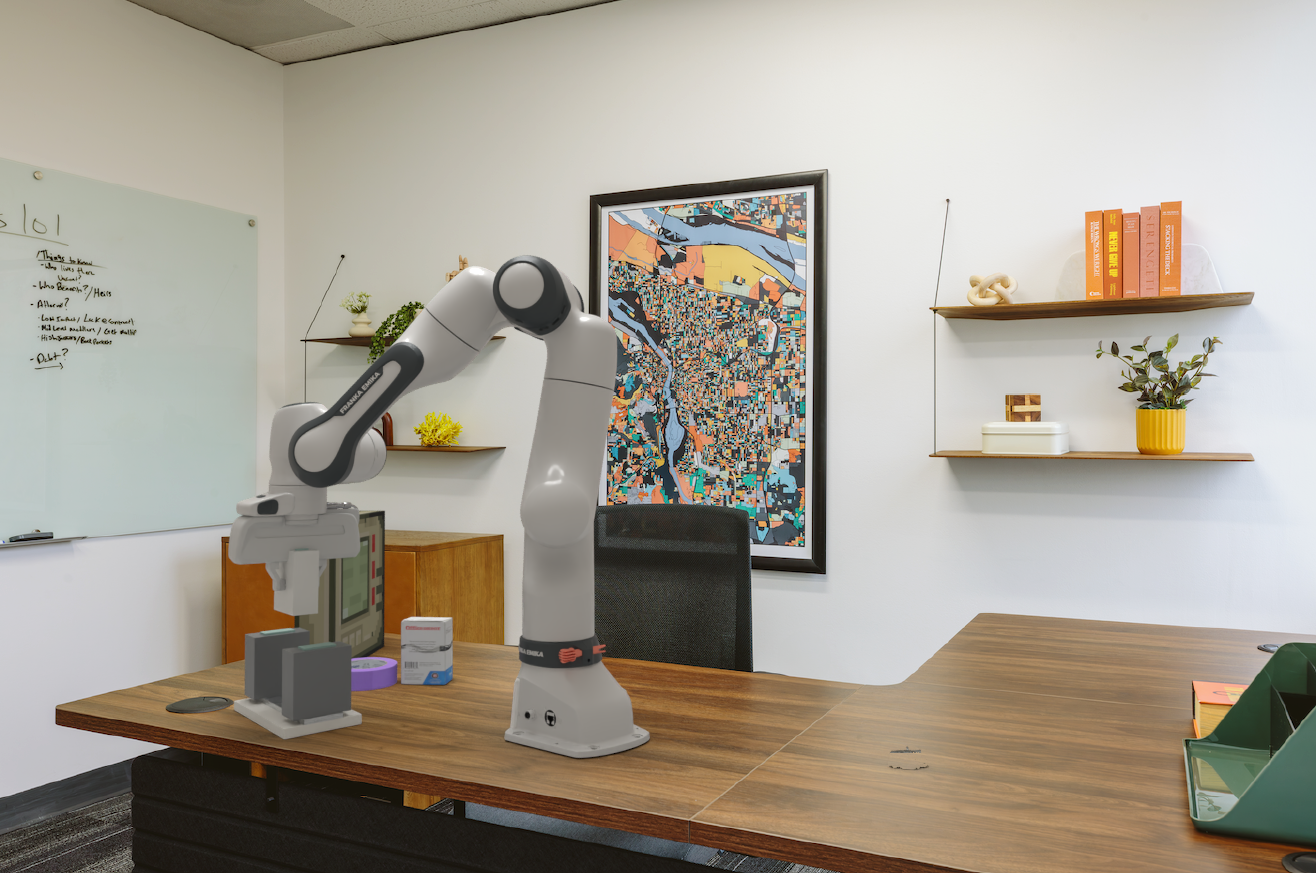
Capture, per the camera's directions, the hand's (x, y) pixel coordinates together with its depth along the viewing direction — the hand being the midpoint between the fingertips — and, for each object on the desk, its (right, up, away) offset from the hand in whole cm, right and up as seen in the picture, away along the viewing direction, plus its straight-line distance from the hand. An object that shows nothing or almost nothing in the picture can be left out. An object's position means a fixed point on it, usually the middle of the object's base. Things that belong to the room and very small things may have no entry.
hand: (296, 589), depth 150 cm
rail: (0, -19, 0) cm, 19 cm away
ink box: (+16, -21, +23) cm, 35 cm away
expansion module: (0, -4, 0) cm, 4 cm away
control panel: (-6, -22, +41) cm, 47 cm away
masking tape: (+4, -21, +22) cm, 31 cm away
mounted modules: (0, -18, 0) cm, 18 cm away
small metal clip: (+92, -20, -26) cm, 98 cm away
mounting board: (0, -20, 0) cm, 20 cm away
